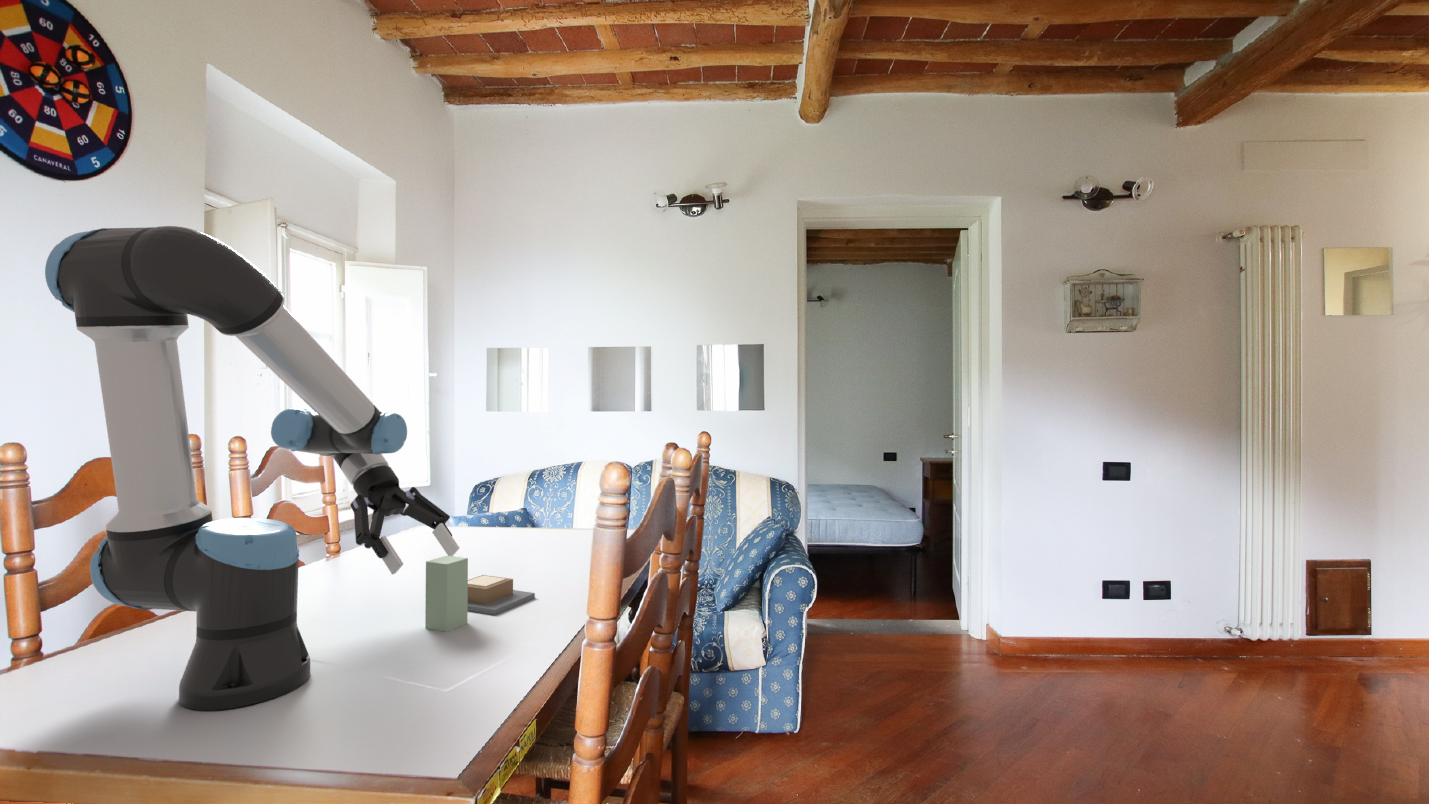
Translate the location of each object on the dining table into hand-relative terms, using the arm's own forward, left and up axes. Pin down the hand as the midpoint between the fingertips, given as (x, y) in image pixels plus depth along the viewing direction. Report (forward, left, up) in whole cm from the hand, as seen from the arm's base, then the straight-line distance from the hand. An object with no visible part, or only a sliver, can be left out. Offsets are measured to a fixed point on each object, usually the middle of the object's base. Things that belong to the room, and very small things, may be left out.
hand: (427, 560), depth 120 cm
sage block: (-2, -7, -11) cm, 13 cm away
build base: (+12, -3, -11) cm, 16 cm away
